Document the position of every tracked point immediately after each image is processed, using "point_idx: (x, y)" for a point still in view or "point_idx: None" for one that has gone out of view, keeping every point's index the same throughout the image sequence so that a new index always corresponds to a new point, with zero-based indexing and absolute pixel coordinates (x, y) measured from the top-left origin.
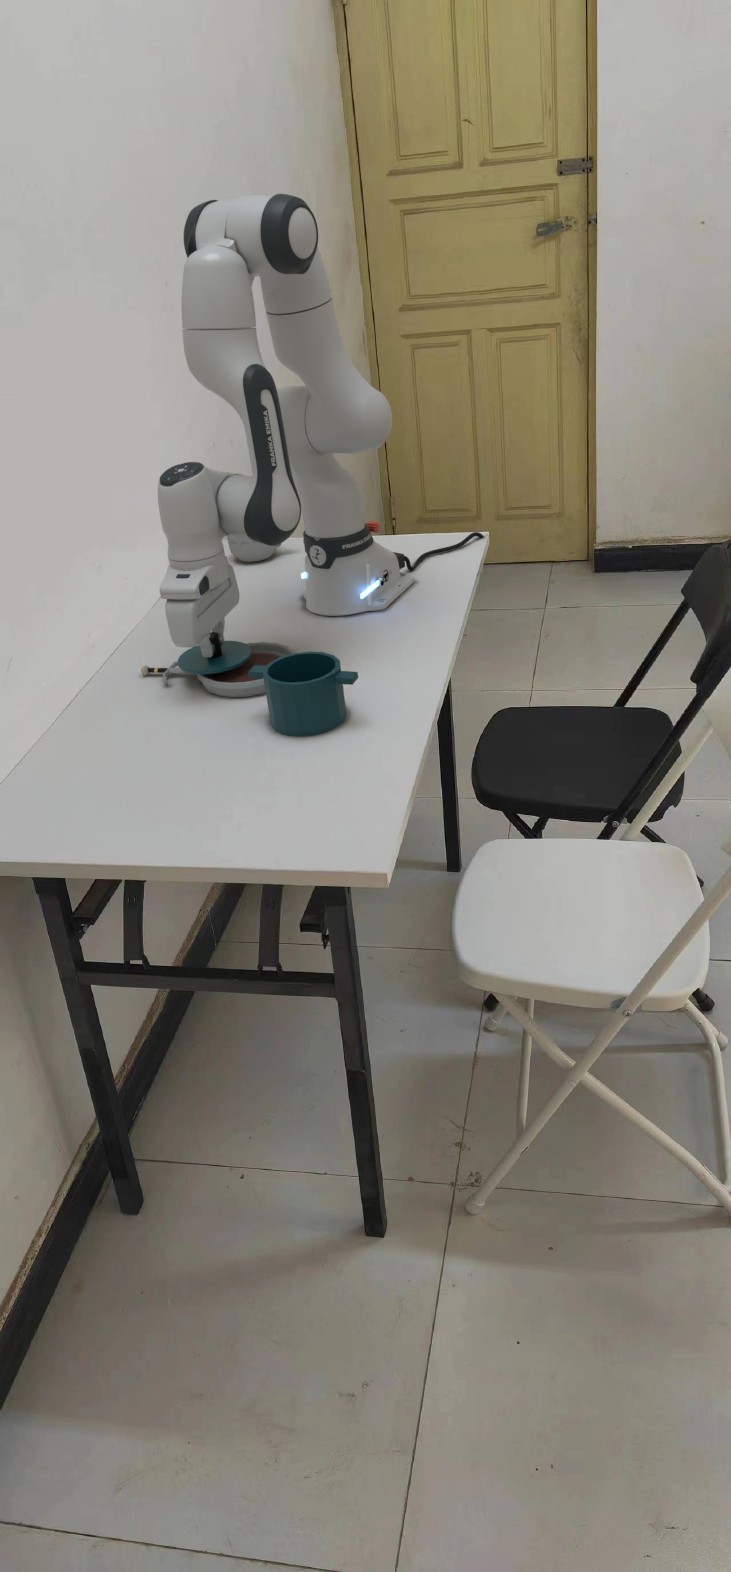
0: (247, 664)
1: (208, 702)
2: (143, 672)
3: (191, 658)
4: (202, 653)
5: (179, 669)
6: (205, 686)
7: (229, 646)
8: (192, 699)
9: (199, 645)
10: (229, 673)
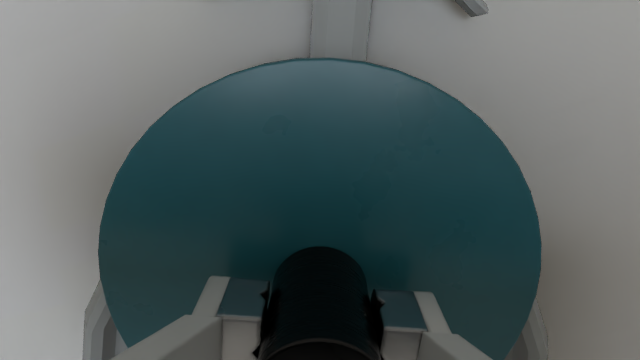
0: None
1: (69, 256)
2: None
3: (277, 159)
4: (205, 289)
5: (334, 28)
6: None
7: None
8: (83, 180)
9: (163, 333)
10: None
